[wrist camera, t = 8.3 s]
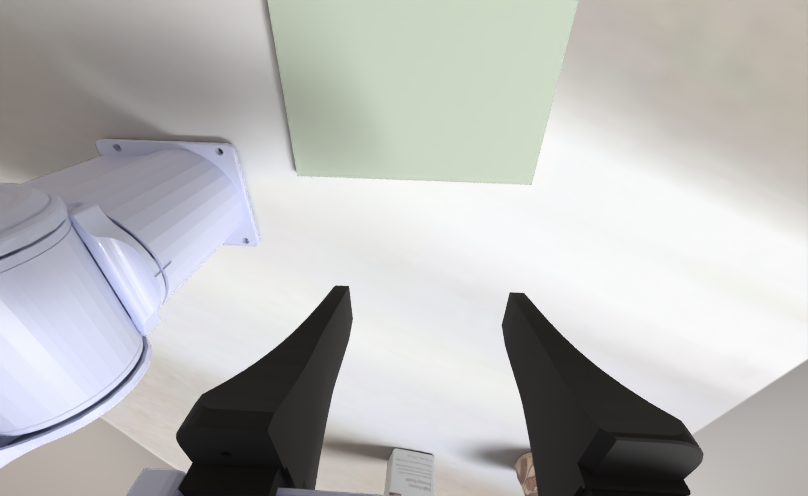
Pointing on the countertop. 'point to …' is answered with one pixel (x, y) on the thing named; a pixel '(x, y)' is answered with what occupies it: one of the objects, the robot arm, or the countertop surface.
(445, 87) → the mat
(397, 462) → the skincare box
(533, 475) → the figurine
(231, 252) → the countertop surface
